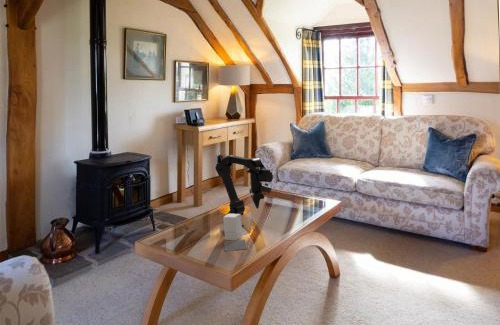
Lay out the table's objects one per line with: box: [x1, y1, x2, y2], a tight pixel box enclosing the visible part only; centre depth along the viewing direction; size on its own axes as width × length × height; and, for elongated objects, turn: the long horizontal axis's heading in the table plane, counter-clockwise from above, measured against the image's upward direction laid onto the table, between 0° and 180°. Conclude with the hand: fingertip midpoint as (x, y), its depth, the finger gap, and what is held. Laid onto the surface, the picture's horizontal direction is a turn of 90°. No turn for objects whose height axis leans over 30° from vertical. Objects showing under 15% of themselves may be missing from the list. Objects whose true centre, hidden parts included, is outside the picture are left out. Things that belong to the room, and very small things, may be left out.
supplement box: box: [222, 213, 243, 241], centre depth 215 cm, size 7×7×13 cm
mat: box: [223, 239, 248, 252], centre depth 204 cm, size 14×11×1 cm
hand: (257, 208), depth 224 cm, fingers closed
